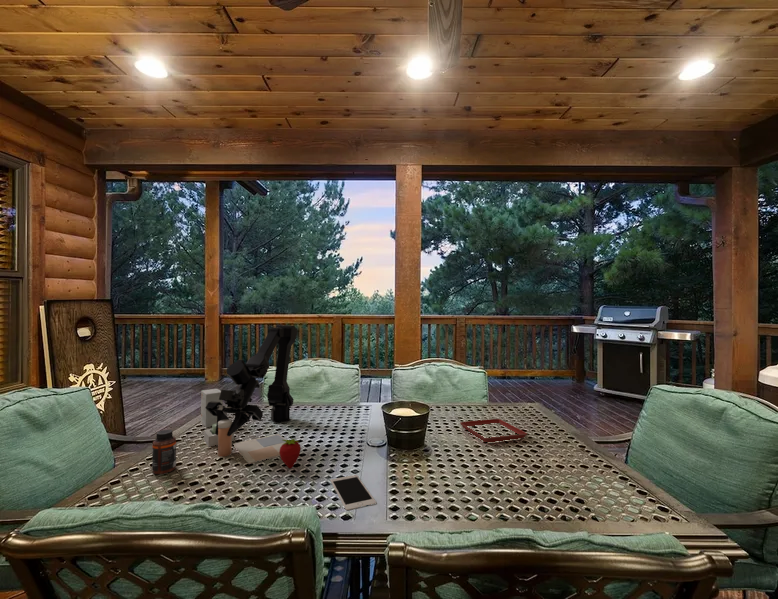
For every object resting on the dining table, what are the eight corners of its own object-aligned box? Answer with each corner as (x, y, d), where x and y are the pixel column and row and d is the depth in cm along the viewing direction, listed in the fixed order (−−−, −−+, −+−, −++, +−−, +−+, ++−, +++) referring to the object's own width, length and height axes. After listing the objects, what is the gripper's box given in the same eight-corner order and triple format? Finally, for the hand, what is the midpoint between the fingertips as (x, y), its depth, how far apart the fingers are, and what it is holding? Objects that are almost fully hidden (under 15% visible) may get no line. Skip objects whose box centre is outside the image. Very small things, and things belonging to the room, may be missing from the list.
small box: (222, 424, 147) (223, 391, 147) (205, 428, 143) (205, 394, 143) (217, 419, 153) (217, 388, 153) (200, 422, 149) (200, 390, 149)
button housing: (227, 435, 136) (227, 425, 136) (233, 441, 129) (233, 431, 129) (203, 439, 131) (203, 429, 131) (208, 447, 125) (208, 436, 125)
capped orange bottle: (230, 450, 122) (230, 418, 122) (233, 454, 119) (233, 422, 119) (216, 453, 120) (216, 420, 120) (219, 457, 116) (219, 424, 116)
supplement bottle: (180, 467, 109) (181, 429, 109) (162, 476, 104) (163, 436, 104) (165, 464, 111) (166, 427, 111) (147, 473, 106) (147, 433, 106)
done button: (223, 431, 133) (223, 421, 133) (226, 435, 130) (226, 425, 130) (210, 434, 131) (211, 424, 131) (213, 437, 127) (213, 427, 127)
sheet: (278, 435, 136) (278, 433, 136) (298, 451, 122) (298, 449, 122) (232, 445, 126) (232, 443, 126) (248, 464, 112) (248, 462, 112)
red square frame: (498, 426, 150) (498, 417, 150) (528, 442, 133) (528, 433, 133) (459, 430, 145) (459, 422, 145) (484, 448, 127) (484, 438, 127)
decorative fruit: (275, 473, 106) (275, 438, 106) (285, 462, 114) (285, 429, 114) (294, 475, 105) (295, 440, 106) (304, 463, 113) (304, 430, 113)
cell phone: (346, 512, 88) (346, 509, 88) (329, 481, 103) (329, 479, 103) (376, 505, 91) (376, 502, 91) (356, 476, 106) (356, 474, 106)
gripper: (209, 377, 125) (183, 420, 115) (258, 381, 121) (236, 425, 110) (224, 395, 133) (202, 436, 122) (271, 398, 129) (251, 442, 118)
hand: (222, 435), depth 118 cm, fingers closed on capped orange bottle, 4 cm apart
